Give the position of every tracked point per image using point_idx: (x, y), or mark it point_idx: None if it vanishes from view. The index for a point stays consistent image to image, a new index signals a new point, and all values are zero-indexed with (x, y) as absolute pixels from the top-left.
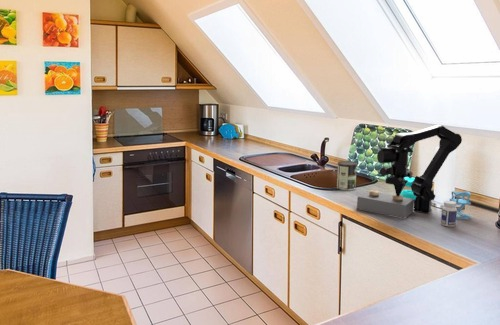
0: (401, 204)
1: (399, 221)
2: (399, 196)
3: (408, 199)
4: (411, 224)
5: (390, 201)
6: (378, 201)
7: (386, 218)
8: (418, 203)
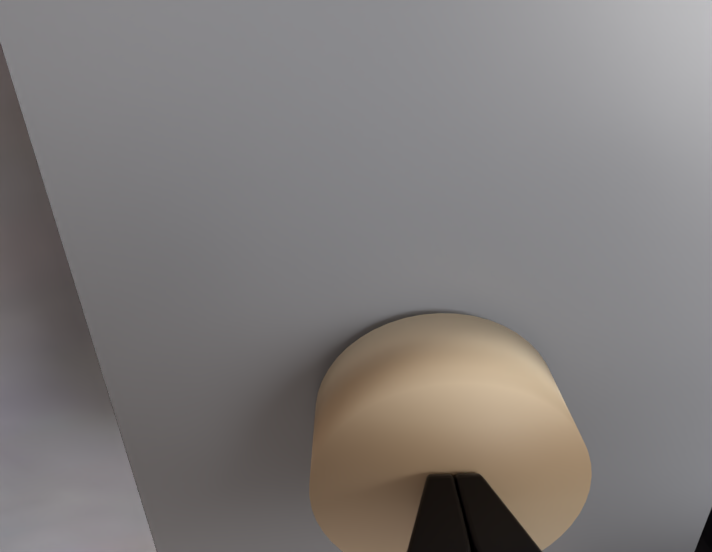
0: (169, 541)
1: (69, 405)
2: (403, 535)
3: (605, 531)
4: (91, 515)
5: (195, 336)
6: (18, 40)
7: (25, 243)
8: (700, 537)
